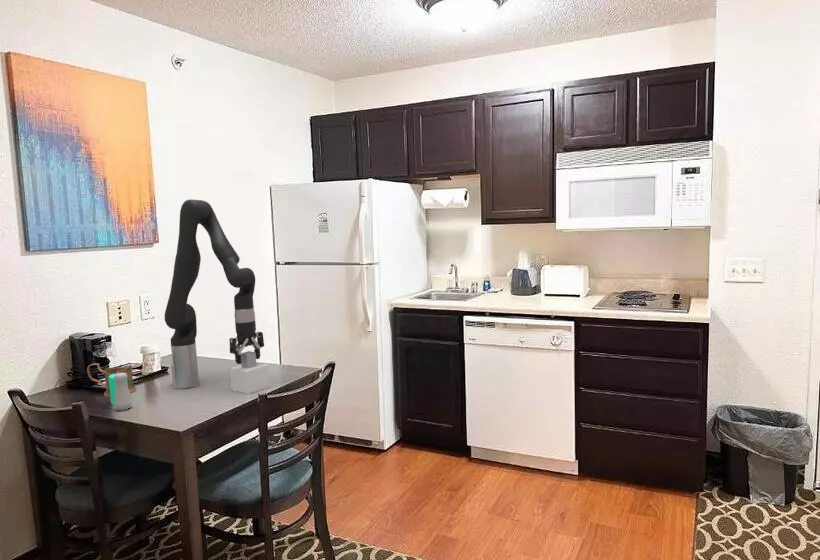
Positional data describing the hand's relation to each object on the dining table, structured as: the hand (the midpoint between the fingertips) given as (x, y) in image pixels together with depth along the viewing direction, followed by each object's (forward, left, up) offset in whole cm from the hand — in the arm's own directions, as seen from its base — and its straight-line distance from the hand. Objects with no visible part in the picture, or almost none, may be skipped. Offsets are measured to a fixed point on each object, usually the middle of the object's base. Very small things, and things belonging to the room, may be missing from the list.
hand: (248, 361), depth 220 cm
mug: (-54, +10, -11) cm, 57 cm away
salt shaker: (-42, -12, -11) cm, 46 cm away
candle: (-46, -4, -11) cm, 48 cm away
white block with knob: (0, 0, -11) cm, 11 cm away
